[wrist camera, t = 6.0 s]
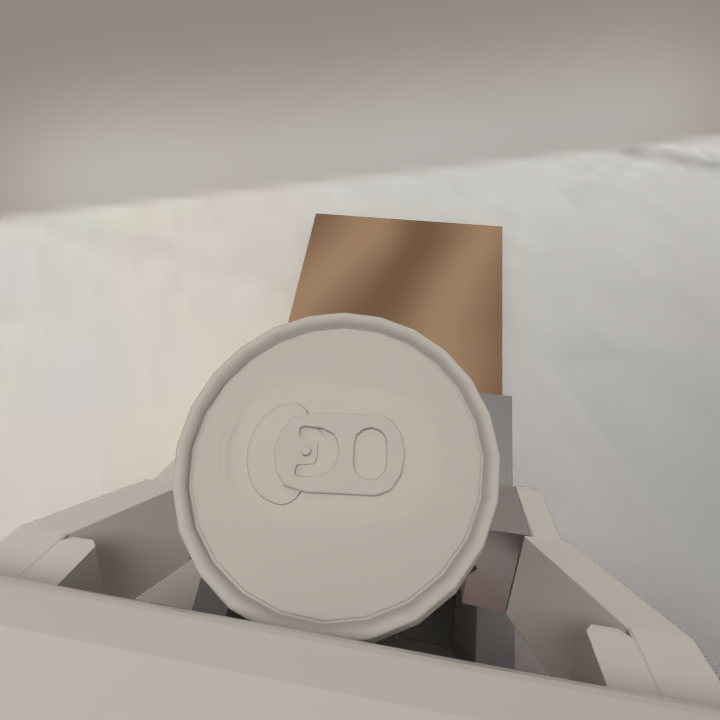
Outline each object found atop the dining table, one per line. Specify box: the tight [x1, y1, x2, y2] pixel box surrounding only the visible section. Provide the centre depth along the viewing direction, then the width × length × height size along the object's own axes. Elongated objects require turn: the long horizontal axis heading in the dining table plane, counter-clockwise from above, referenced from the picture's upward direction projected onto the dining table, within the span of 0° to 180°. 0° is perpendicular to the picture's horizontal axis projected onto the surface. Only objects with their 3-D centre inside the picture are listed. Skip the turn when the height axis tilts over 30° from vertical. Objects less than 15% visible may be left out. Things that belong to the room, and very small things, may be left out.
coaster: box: [288, 214, 502, 395], centre depth 21 cm, size 10×10×1 cm
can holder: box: [193, 393, 514, 669], centre depth 15 cm, size 9×9×4 cm
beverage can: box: [172, 313, 500, 643], centre depth 11 cm, size 5×5×12 cm
